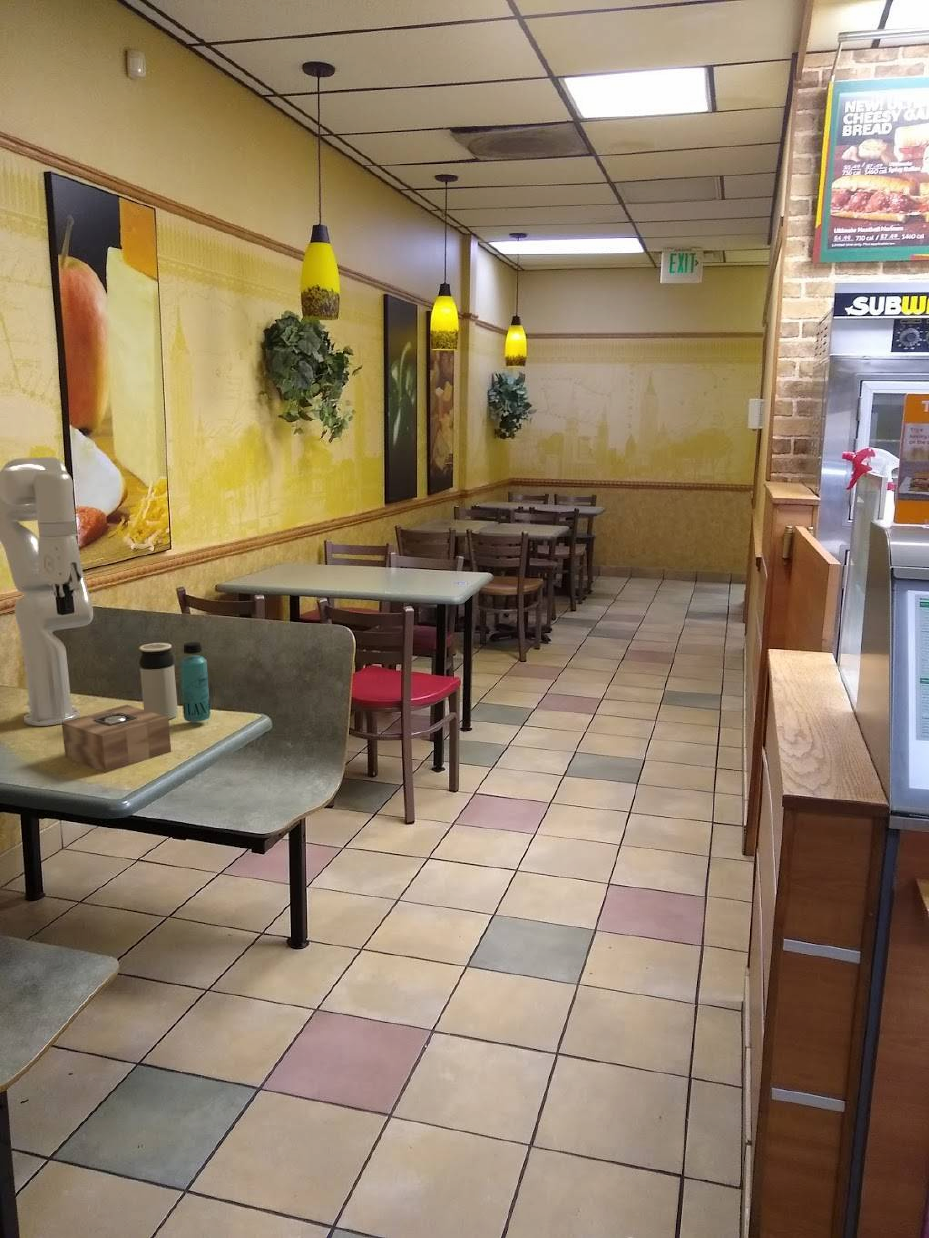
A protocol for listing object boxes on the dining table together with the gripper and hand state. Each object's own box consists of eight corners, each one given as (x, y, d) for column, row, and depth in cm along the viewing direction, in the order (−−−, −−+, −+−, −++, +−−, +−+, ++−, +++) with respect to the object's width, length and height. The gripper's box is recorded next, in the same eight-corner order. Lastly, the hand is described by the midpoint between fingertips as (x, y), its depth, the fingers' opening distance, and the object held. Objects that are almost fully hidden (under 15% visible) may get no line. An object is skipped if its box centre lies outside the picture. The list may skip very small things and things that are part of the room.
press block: (65, 757, 215) (61, 721, 214) (129, 737, 228) (126, 703, 226) (106, 772, 206) (102, 735, 204) (171, 751, 218) (168, 716, 216)
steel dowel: (103, 753, 216) (100, 719, 215) (121, 747, 220) (118, 714, 218) (115, 757, 214) (111, 722, 212) (132, 751, 217) (129, 717, 215)
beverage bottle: (179, 727, 235) (172, 646, 230) (190, 719, 241) (184, 639, 237) (205, 728, 234) (199, 646, 230) (215, 719, 240) (210, 640, 236)
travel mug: (168, 722, 239) (162, 650, 235) (138, 721, 240) (131, 649, 237) (183, 712, 246) (178, 642, 243) (154, 711, 248) (148, 642, 244)
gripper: (22, 529, 213) (31, 612, 216) (59, 534, 203) (68, 621, 207) (55, 526, 218) (63, 607, 222) (92, 530, 209) (100, 615, 213)
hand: (65, 613), depth 215 cm, fingers closed
